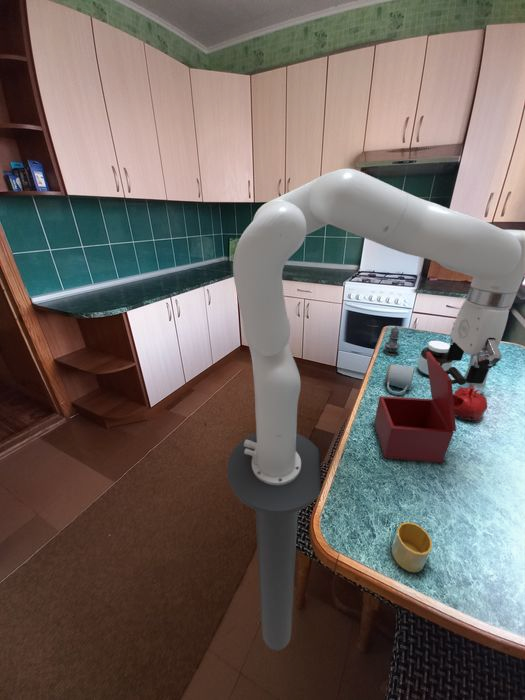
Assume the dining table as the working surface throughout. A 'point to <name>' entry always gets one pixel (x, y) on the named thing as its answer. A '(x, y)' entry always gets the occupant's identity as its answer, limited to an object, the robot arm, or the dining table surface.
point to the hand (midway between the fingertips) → (462, 370)
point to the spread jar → (435, 356)
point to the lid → (443, 388)
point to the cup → (411, 546)
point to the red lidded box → (412, 429)
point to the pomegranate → (469, 403)
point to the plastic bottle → (475, 385)
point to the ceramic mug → (399, 377)
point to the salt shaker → (392, 343)
